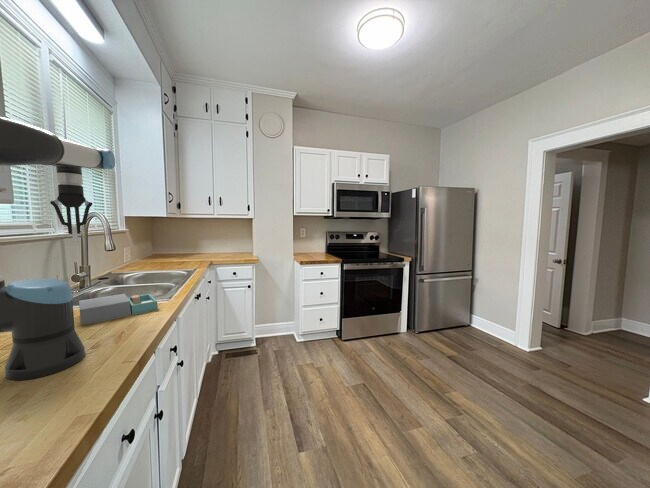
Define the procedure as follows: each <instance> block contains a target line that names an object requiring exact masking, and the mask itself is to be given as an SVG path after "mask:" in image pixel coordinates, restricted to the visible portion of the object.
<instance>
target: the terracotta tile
mask: <svg viewBox="0 0 650 488" xmlns="http://www.w3.org/2000/svg"><path fill="white" fill-rule="evenodd" d="M139 296H140V295H139V294H136V295H131V296H130V297H131V300H132V303H133V304H134V305H135V304H140V297H139Z"/></svg>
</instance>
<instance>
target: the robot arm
mask: <svg viewBox="0 0 650 488" xmlns="http://www.w3.org/2000/svg"><path fill="white" fill-rule="evenodd" d="M32 165H33V166H34V165H36V166H37V165H38V166H40V165H41V166H42V165H43V166H53V167H55V168H56V169H55V170H56V178H57V179H56V180H57V183H58V185H57V191H58V196H57V198H56V199H55V200H51V201H50V204H51V205H52V206H53V208H54V210H55V212H56V214H57V216H58V220H59V221H60V224H61V225H63V226H67V232H68V235H72V236H71V237H72V243H78V241H79V239H78V237H79V236H78V235H81V233H82V230H81V226H85V225H86V224H87V220H88V216H89V212H90V209H91V207H92V206H93V202H91V201H88V200H86V197H85V195H84V186H82V185H84V183H83V173H82V170H83V169H82V168H84V169H86V168H87V169H99V170H113V169H115V166H116V158H115V154H114V153H113V151H111V150H110V149H106V148H105V149H104V148H96V147H95V148H94V147H91V146H88V145H84V144H81V143H77V142H74V141H71V140H69V139H64V138H61V137H59V136H57V135H56V134H55V133H54V132H51V131H49V130H46V129H44V128H41V127H37V126H34V125H31V124H27V123H24V122H22V121H18V120H14V119H11V118H7V117H2V116H0V166H6V167H7V166H9V167H10V166H32ZM60 203H61V204H62V205H63V206H64V207H65V209H66V210H65V211H66V221H65V218H64V216H63V214H62V211H61V209H60V207H59V205H60ZM83 204H84V206H85V208H84V212H83V215H82V216H83V217H82V221H81V220H80V219H81V218H80V207H81V206H83ZM71 208H74V212H75V213H74V214H75V225H76V226H75V225H74V226H73V224H72V212H71ZM72 293H73V292H72V287H71V285H70V284H69V283H68V282H67V281H65V280H61V279H58V278H57V279H54V278H32V279H30V278H28V279H27V278H26V279H19V280H15V281H11V282H9V283H8V284H7V285H6V282H5V278H4V276H1V275H0V334H1V333H11V337H12V347H11V350H10V352H9V355H8V358H7V361H6V362H5V366H4V367H5V368H4V372H5V373H4V374H5V377H6V378H7V379H9V380H13V381H25V380H32V379H38V378H42V377H46V376H49V375H52V374H53V375H54V374H56V373H58V372H61V371H64V370H66V369H68V368H70V367H72V366H74V365H76V364H77V363H79V362H81V361H82V359H84V358H85V357H86V351H85V345H84V344H83V342H82V340H81V339H80V337H79V335H78V333H77V332H76V329H75V327H76V326H75V315H74V305H73V303H74V302H73V298H74V296H73V294H72Z"/></svg>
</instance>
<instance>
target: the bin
mask: <svg viewBox="0 0 650 488" xmlns="http://www.w3.org/2000/svg"><path fill="white" fill-rule="evenodd" d="M138 296H139V297H140V304H135V305H134V304H133V303H132V300H131V296H129V297H128V296H127V298H128V299H129V301H130V309H131V316H135V315H139V314H144V313H149V312H150V313H151V312H154V311H158V300H157V299H156V298H155V297H154V296H153V295H152V294H151V293H147V294H141V295H138ZM149 300H152V302H146V303H141V302H144V301H149Z"/></svg>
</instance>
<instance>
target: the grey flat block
mask: <svg viewBox="0 0 650 488" xmlns="http://www.w3.org/2000/svg"><path fill="white" fill-rule="evenodd" d="M78 305H79V306H78V307H79V308H78V309H79V316H80V325H81V326H85V325H89V324H95V323H99V322H104V321H110V320H115V319H119V318H120V319H121V318H124V317H129V316H132V314H131V309H130V301H129V299H128V296H127V295H126V293H120V294H114V295H107V296H101V297H95V298H88V299H81V300H78Z"/></svg>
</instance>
